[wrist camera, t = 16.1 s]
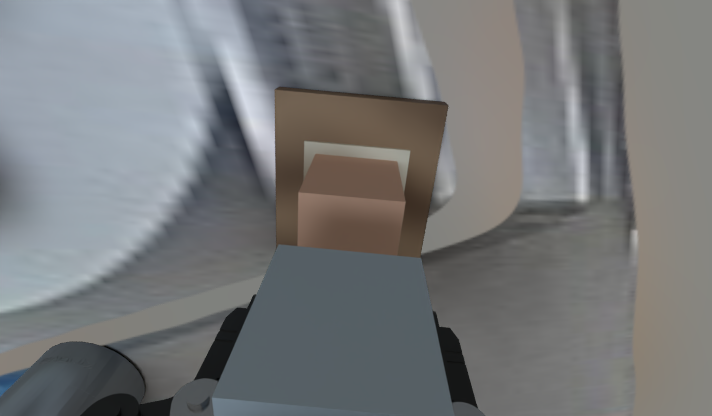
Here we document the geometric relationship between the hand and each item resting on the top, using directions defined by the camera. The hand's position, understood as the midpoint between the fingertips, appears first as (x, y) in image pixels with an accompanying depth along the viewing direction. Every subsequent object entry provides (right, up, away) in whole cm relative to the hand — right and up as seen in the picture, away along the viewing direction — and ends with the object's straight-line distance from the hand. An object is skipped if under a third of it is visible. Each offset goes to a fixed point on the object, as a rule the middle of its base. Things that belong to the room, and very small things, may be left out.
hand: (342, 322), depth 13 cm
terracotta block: (0, +5, +10) cm, 12 cm away
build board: (0, +6, +12) cm, 13 cm away
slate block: (0, 0, +1) cm, 1 cm away
